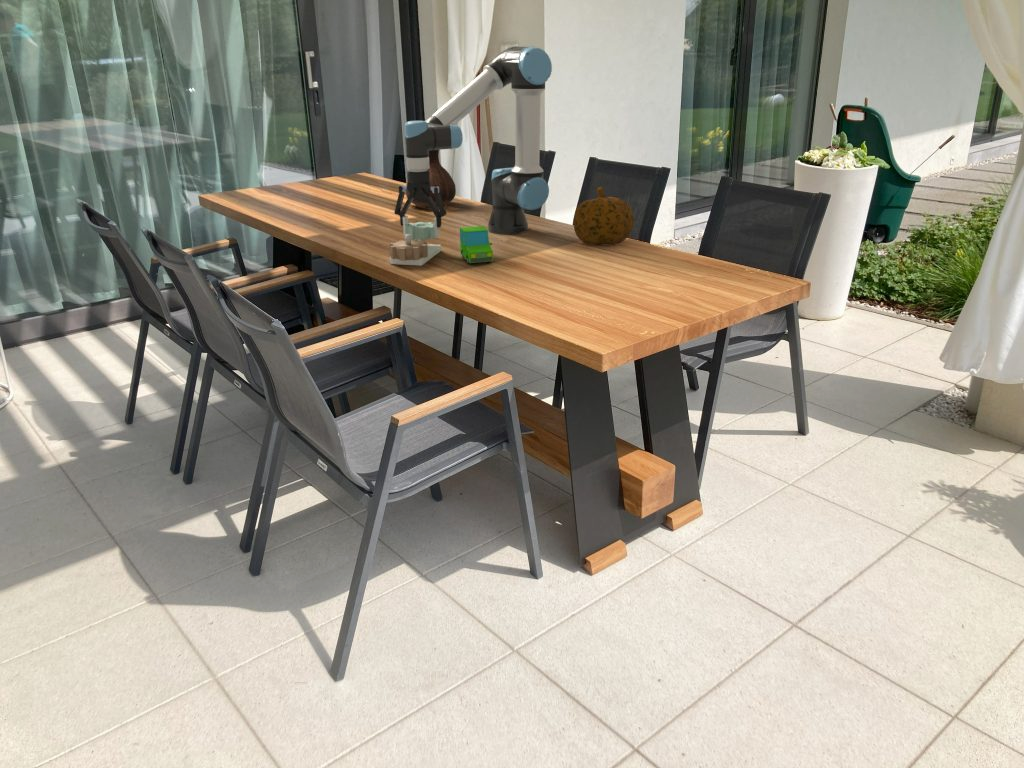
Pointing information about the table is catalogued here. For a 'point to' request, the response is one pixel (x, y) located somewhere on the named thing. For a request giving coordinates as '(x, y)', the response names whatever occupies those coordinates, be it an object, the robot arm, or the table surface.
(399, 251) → the gear board
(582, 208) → the decorative pumpkin
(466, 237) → the toy car
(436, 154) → the brown wooden bulbous vase
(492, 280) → the table surface
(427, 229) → the loose gear
